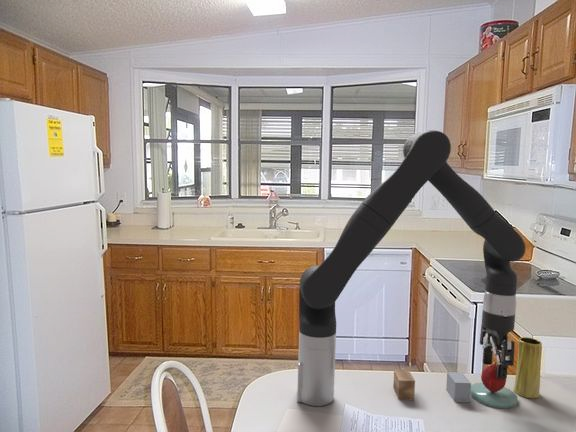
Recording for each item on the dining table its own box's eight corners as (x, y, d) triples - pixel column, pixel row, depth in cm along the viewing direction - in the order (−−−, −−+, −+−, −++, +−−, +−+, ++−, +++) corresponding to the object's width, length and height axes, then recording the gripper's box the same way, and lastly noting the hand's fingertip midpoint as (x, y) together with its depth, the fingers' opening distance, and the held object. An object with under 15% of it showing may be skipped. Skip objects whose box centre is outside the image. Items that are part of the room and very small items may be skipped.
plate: (479, 407, 108) (480, 402, 107) (463, 386, 119) (463, 381, 118) (525, 409, 107) (525, 404, 107) (504, 387, 118) (505, 383, 118)
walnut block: (398, 399, 111) (399, 380, 110) (393, 387, 117) (394, 369, 116) (414, 399, 111) (415, 380, 110) (408, 388, 117) (409, 370, 116)
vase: (514, 395, 114) (518, 342, 113) (512, 385, 119) (516, 335, 118) (541, 400, 112) (545, 346, 110) (537, 390, 117) (541, 338, 116)
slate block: (453, 401, 110) (455, 382, 110) (446, 390, 116) (447, 372, 116) (469, 402, 110) (471, 383, 110) (461, 390, 116) (462, 372, 116)
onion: (508, 399, 109) (509, 368, 109) (483, 396, 110) (485, 366, 110) (501, 388, 115) (503, 358, 114) (478, 386, 116) (479, 357, 116)
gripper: (473, 301, 118) (468, 359, 119) (496, 318, 104) (491, 383, 105) (501, 302, 118) (496, 360, 119) (528, 319, 104) (522, 385, 105)
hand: (494, 371), depth 112 cm, fingers open, 8 cm apart
